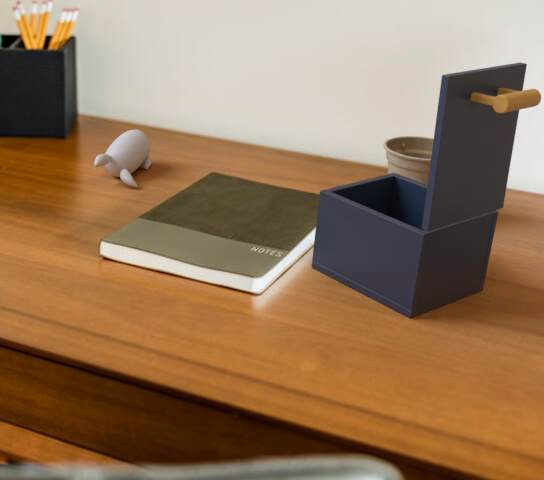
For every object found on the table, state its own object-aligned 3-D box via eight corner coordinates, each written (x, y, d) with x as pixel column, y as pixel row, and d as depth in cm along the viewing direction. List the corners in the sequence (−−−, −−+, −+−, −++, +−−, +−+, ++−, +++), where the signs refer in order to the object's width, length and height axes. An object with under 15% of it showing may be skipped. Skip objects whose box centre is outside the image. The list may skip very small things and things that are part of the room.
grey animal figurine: (115, 133, 126) (77, 171, 117) (140, 115, 123) (103, 153, 114) (143, 167, 128) (107, 208, 118) (168, 151, 125) (134, 191, 115)
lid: (441, 74, 78) (488, 84, 75) (519, 62, 85) (566, 71, 81) (421, 229, 84) (464, 245, 80) (496, 206, 90) (539, 220, 87)
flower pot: (406, 231, 107) (416, 162, 104) (359, 204, 115) (368, 139, 112) (467, 221, 111) (479, 155, 108) (418, 196, 119) (428, 133, 115)
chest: (311, 267, 97) (319, 190, 93) (383, 244, 103) (394, 172, 100) (410, 318, 87) (424, 234, 83) (483, 290, 93) (498, 211, 90)
